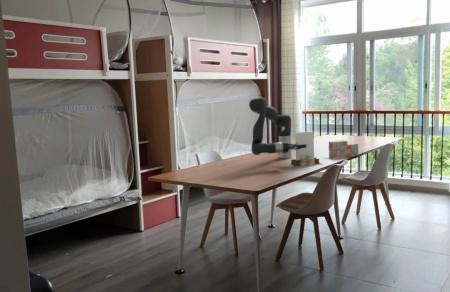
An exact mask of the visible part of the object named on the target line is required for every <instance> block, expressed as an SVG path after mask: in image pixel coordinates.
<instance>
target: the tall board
mask: <svg viewBox="0 0 450 292" xmlns="http://www.w3.org/2000/svg"><path fill="white" fill-rule="evenodd" d="M294 135H295V136H294V139H295V144H297V145H304V144H306V148H301V149H296V150H295V159H296V160H301V156H312V158H313V159H314V158H315V142H314V141H315V139H314V131H312V130H310V131H309V130H308V131H296V132H295V133H294Z"/></svg>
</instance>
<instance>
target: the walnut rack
mask: <svg viewBox="0 0 450 292" xmlns="http://www.w3.org/2000/svg"><path fill="white" fill-rule="evenodd" d="M314 160H315V165H314V166H318V165H319V166H321V165H324V163H321V162H320V158H317V157H314ZM300 162H301V160H296V158H295V159H291V160H290V165H291V166H292V167H294V168H296V167H297V168H298V167H302V166H301V165H300ZM310 166H312V165H309V167H310Z"/></svg>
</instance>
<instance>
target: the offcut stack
mask: <svg viewBox="0 0 450 292" xmlns="http://www.w3.org/2000/svg"><path fill="white" fill-rule="evenodd" d="M300 165H301V166H300V167H308V166H309V165H311V166H316V165H315V160H314V159H313V158H312V156H301V162H300ZM309 167H310V166H309Z"/></svg>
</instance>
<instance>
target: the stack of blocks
mask: <svg viewBox="0 0 450 292" xmlns="http://www.w3.org/2000/svg"><path fill="white" fill-rule="evenodd" d="M357 156H359V143H355V142H352V143H350V142H349V143H348V140H344V139H343V140H342V139H341V140H333V141H328V157H329V158H331V159H340V158H350V157H357Z"/></svg>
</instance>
